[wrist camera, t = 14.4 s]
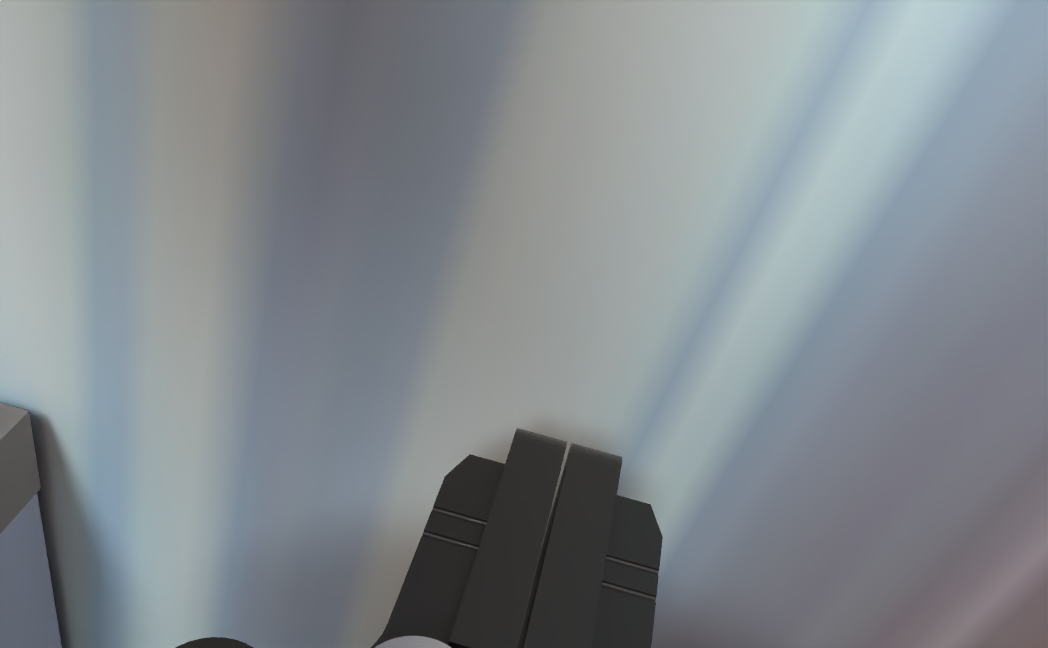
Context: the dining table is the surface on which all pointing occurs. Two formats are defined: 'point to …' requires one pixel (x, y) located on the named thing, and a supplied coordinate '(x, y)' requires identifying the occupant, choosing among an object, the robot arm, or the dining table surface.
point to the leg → (23, 541)
